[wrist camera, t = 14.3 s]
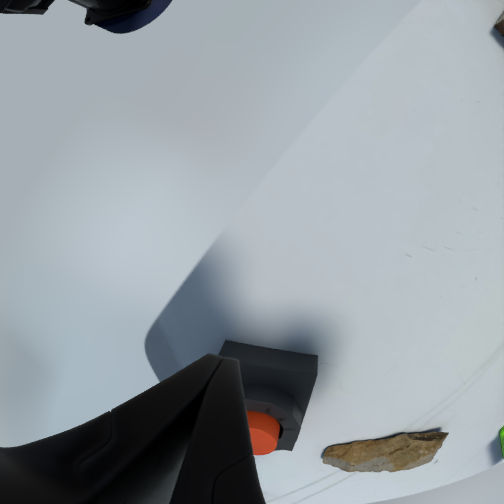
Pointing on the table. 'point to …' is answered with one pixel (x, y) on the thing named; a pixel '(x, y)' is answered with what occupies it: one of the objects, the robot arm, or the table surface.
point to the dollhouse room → (502, 439)
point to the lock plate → (500, 24)
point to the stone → (386, 453)
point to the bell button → (263, 432)
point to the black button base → (276, 385)
